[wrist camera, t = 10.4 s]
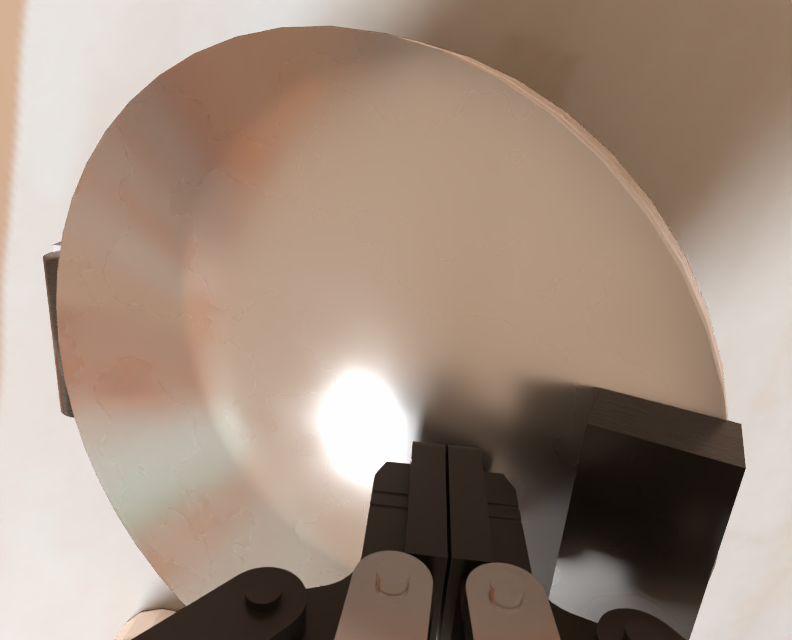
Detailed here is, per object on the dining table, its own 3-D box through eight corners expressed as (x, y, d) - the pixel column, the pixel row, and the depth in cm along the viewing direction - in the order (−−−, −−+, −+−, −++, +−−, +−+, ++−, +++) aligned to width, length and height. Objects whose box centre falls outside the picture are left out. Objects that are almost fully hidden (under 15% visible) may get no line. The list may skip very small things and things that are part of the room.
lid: (860, 62, 10) (916, 43, 7) (624, 800, 16) (606, 939, 14) (56, 17, 17) (-68, -2, 14) (107, 543, 24) (27, 600, 21)
